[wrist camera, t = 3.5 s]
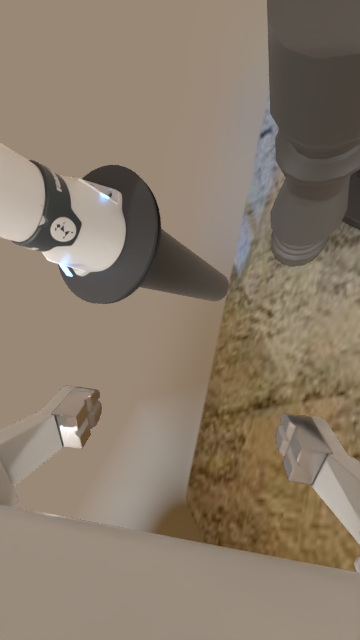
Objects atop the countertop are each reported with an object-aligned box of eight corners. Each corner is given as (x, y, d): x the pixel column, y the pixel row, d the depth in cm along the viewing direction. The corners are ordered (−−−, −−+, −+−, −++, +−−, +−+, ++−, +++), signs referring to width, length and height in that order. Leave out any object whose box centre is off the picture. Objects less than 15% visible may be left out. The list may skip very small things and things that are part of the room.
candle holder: (319, 267, 27) (565, 6, 4) (268, 265, 29) (241, 98, 7) (328, 218, 26) (684, -419, 3) (275, 220, 29) (275, -133, 6)
